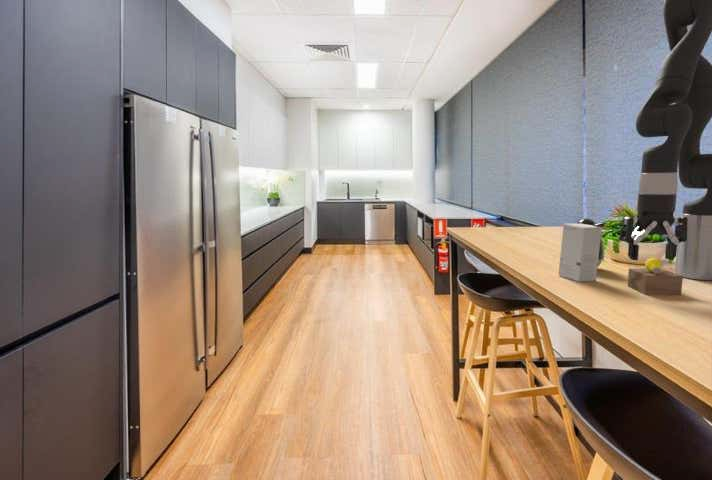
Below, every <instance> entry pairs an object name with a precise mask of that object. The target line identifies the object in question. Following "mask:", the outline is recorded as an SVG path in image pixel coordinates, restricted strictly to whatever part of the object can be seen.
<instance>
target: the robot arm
mask: <svg viewBox="0 0 712 480" xmlns="http://www.w3.org/2000/svg"><path fill="white" fill-rule="evenodd" d="M662 3H663V7H662V12H663V13H662V14H663V15H662V16H663V21H664V27H665V34H666V38H667V41H668V42H667V43H668V48H669V53H668V54H667V56H666V57H665V58H664V60H663V62H662V63H661V66H660V68H659V71H658V74H657V77H656V81H655V84H654V88H653V89H652V91H651V93H650V95H649V97H648V98H647V100H646V101H645V103H644V104H643V106H642V107H641V109H640V110H639V111H638V115H637V117H636V120H635V129H636V132H637V133H638V135H640V137H643V138H657V137H658V138H659V137H667V138H666V140H665V141H664V142H663V143H662V144H661V145H657V146H654V147H649V148H646V149H645V150H644V151H643V152H642V153H643V154H642V158H641V159H642V160H641V170H640V171H641V172H640V177H639V182H638V192H637V205H636V206H637V207H636V213H637V215H636V216H635V217H631V216H624V217H622V223H621V231H620V239H619V240H620V241H621V242H624V243H627V244H628V250H627V251H628V252H627V257H628V258H629V259H630V260H631V261H638V260H639V251H640V245H638V244H640V242H641V241H642V240H643V239H644V238H646V237H647V236H655V235H657V236H661V237H663V238H664V240H665V241H666V242H667V243H665V254H664V258H665V260H668V261H669V260H670V261H673V260H675V259H676V260H675V266H674V267H675V269H674V273H676V274H679V275H682V276H683V278H687V279H691V280H692V279H693V280H701V281H702V280H703V281H704V280H705V281H712V153H701V149H700V148H701V138H702V135H703V133H704V131H705V129H706V127H707V125H708V124H709V122H710V121H711V119H712V63H711V62H709V60H708V59H707V58H705V57H704V55H702V52H703V51H704V48H705V46H706V44H707V42H708V40H709V38H710V36H711V34H712V0H663V2H662ZM689 26H690V28H689V29H688V27H689ZM678 177H679V178H678ZM678 179H679V182H680V184H681V186H682V187H684V188H687V189H692V190H693V189H698V190H700V189H701V190H705V189H706V192H705V195H703V196H702V197H701V198H699V199H696V200H692V201H689V202H686V203H685V204H684V205H683V207H682V216H680V215H677V216H676V217H674V213H675V211H676V206H677V205H676V203H677V193H678ZM636 225H637V227H635V229H634V226H636ZM673 225H674V230H673V229H672V226H673ZM633 229H634V231H633Z"/></svg>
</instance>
